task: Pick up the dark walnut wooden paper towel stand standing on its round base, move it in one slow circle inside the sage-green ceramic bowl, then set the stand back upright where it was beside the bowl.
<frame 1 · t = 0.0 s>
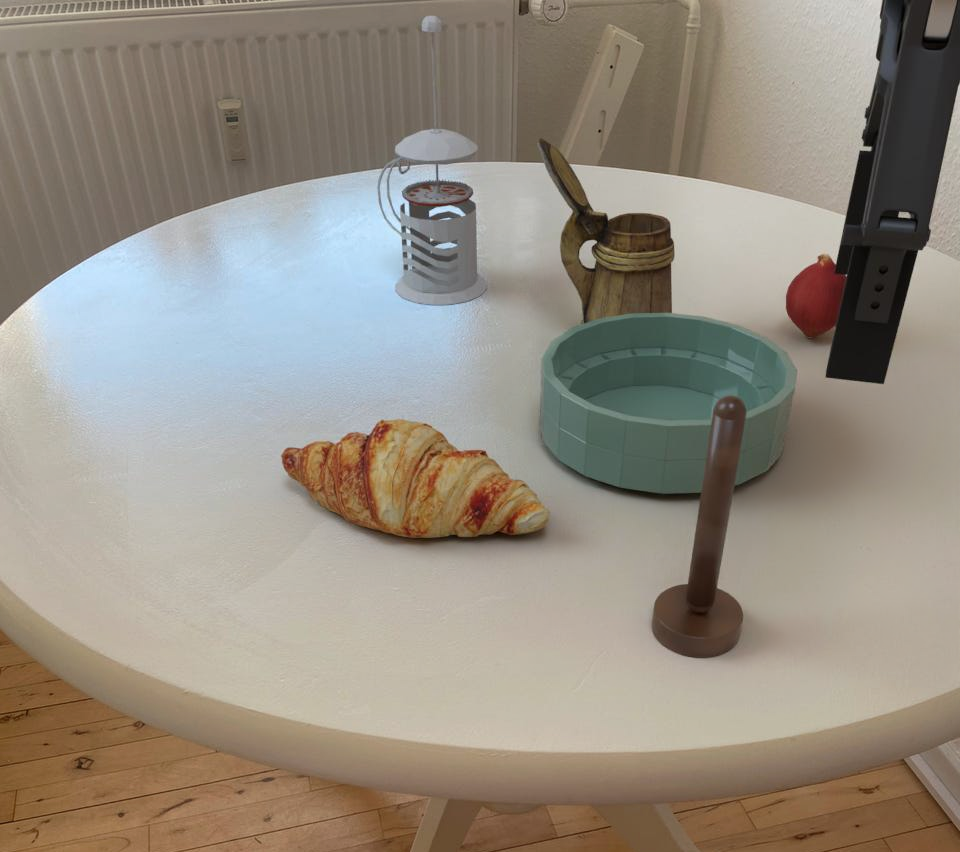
hand: (856, 321, 56), 20 cm above the table, tool pointing down, fingers open, 13 cm apart
wooden paper towel stand: (695, 629, 68), on the table
wooden mug: (603, 342, 101), on the table
onion: (810, 338, 102), on the table
croissant: (412, 515, 79), on the table
bowl: (659, 437, 87), on the table
french press: (433, 286, 112), on the table
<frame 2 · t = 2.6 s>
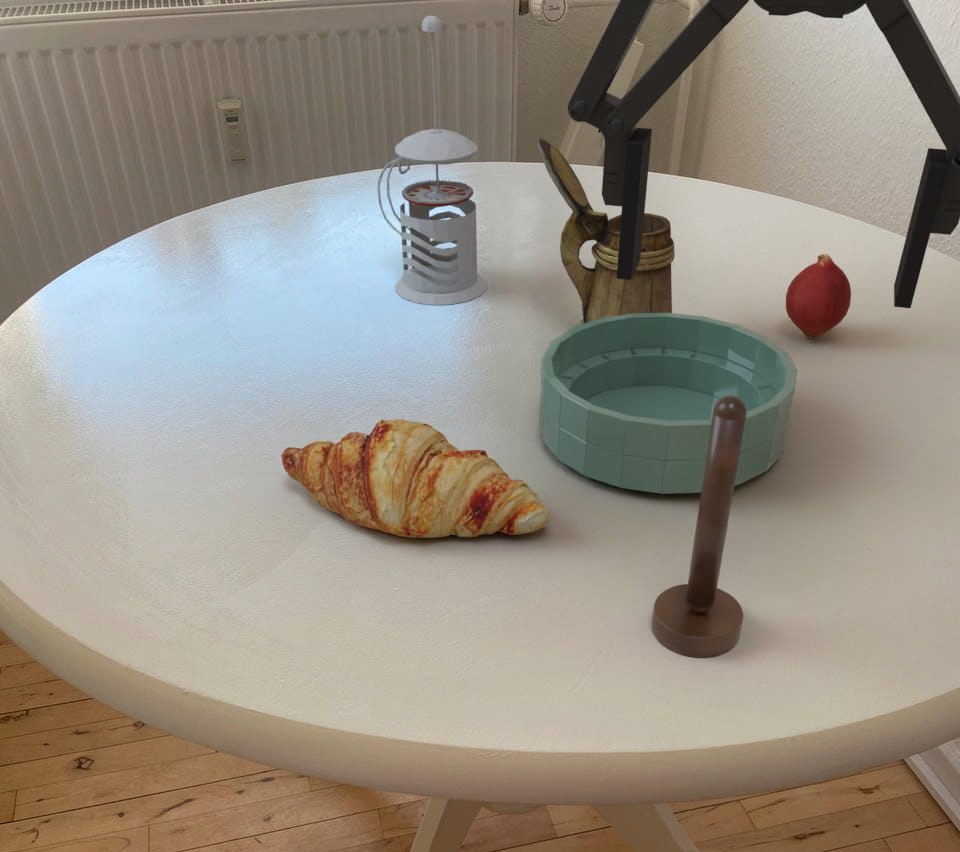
hand: (761, 283, 54), 23 cm above the table, tool pointing down, fingers open, 13 cm apart
nothing on the table moved.
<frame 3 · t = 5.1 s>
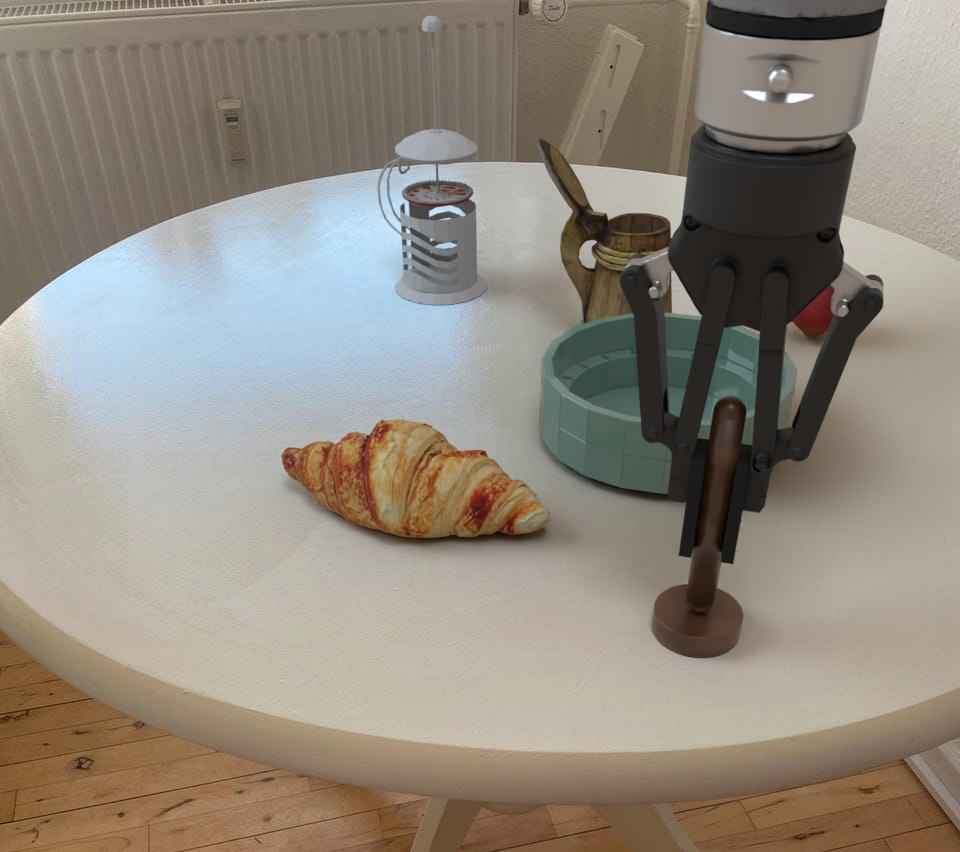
hand: (708, 546, 64), 6 cm above the table, tool pointing down, fingers closed on wooden paper towel stand, 2 cm apart
wooden paper towel stand: (695, 629, 68), on the table, touching gripper
everything else where it was.
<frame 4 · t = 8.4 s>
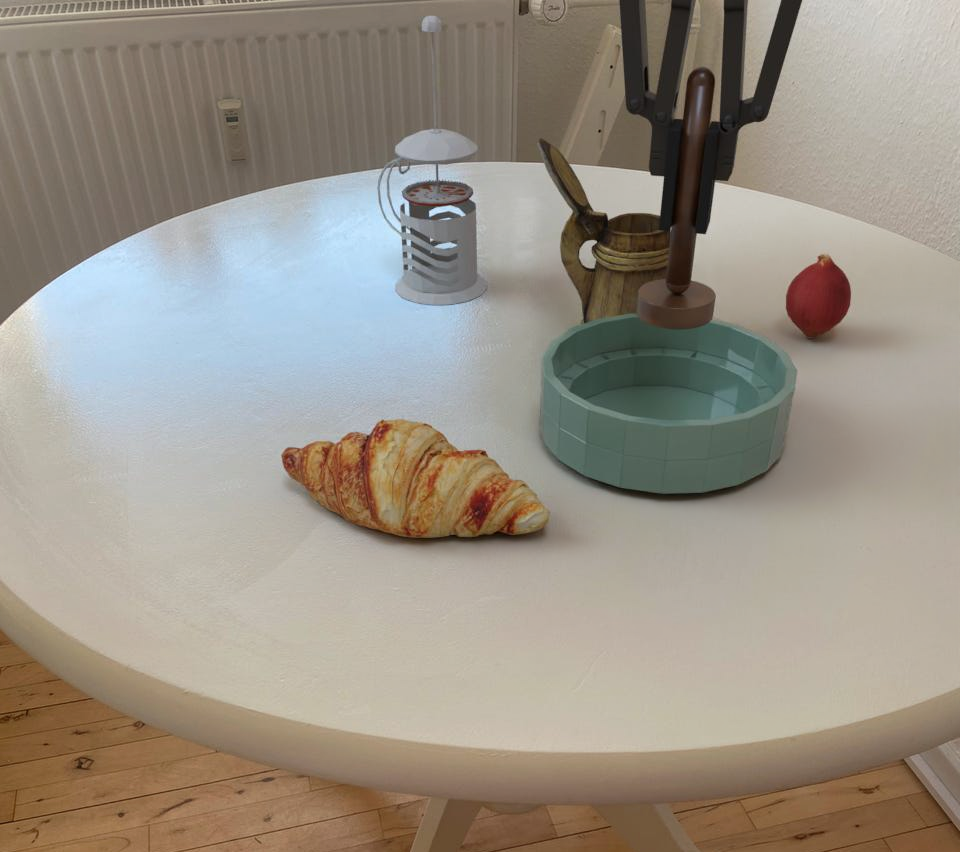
hand: (684, 225, 74), 18 cm above the table, tool pointing down, fingers closed on wooden paper towel stand, 2 cm apart
wooden paper towel stand: (674, 314, 78), point 11 cm above the table, touching gripper
everything else where it was.
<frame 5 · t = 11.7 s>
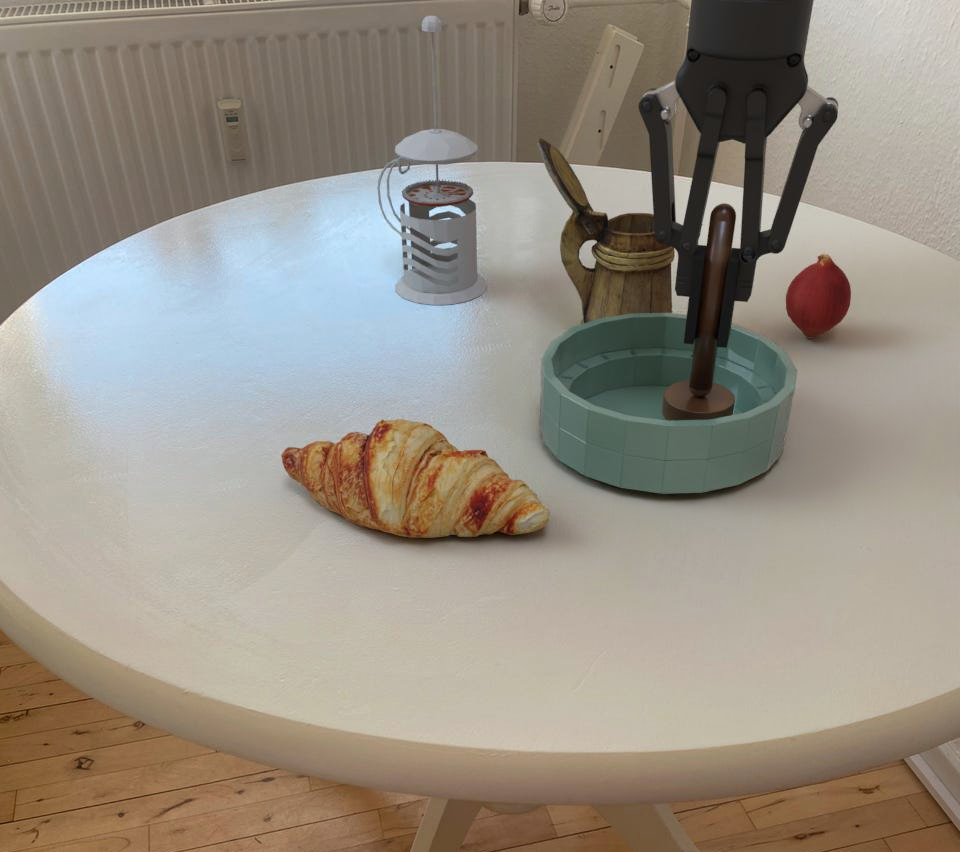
hand: (707, 337, 81), 9 cm above the table, tool pointing down, fingers closed on wooden paper towel stand, 2 cm apart
wooden paper towel stand: (696, 413, 85), point 2 cm above the table, touching gripper
everything else where it was.
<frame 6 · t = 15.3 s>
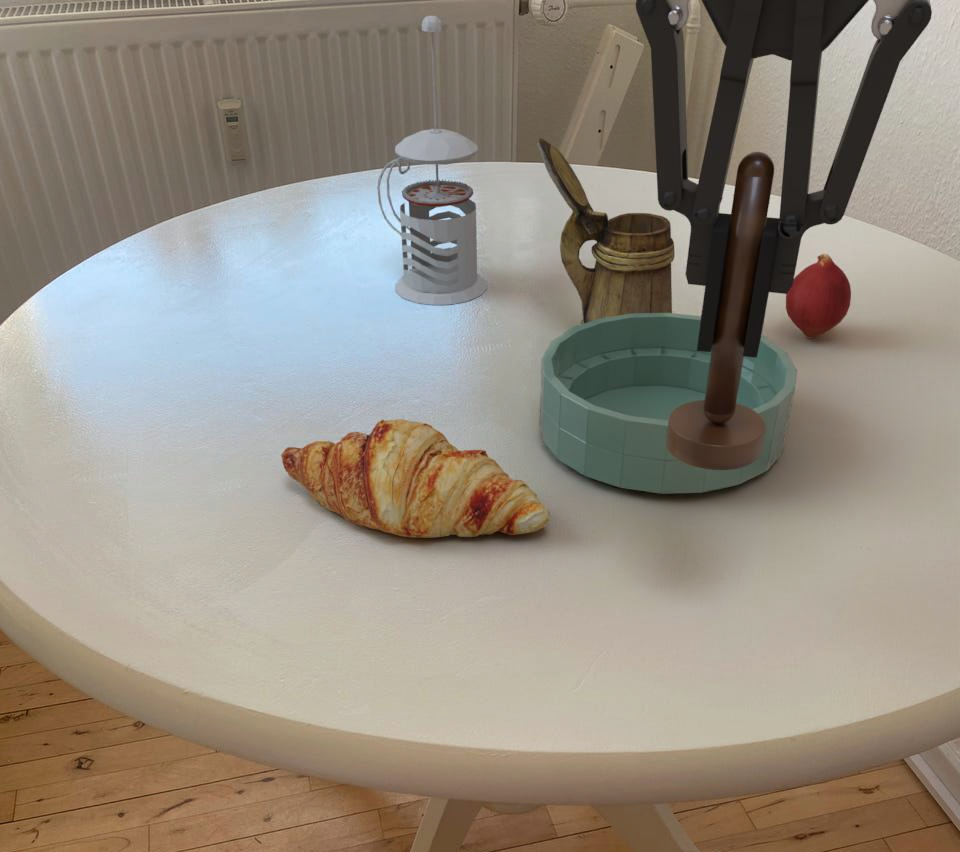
hand: (729, 343, 59), 18 cm above the table, tool pointing down, fingers closed on wooden paper towel stand, 2 cm apart
wooden paper towel stand: (713, 446, 63), point 12 cm above the table, touching gripper
everything else where it was.
when the fingers open (6 cm above the table, at t = 18.2 s): wooden paper towel stand stays where it is, on the table.
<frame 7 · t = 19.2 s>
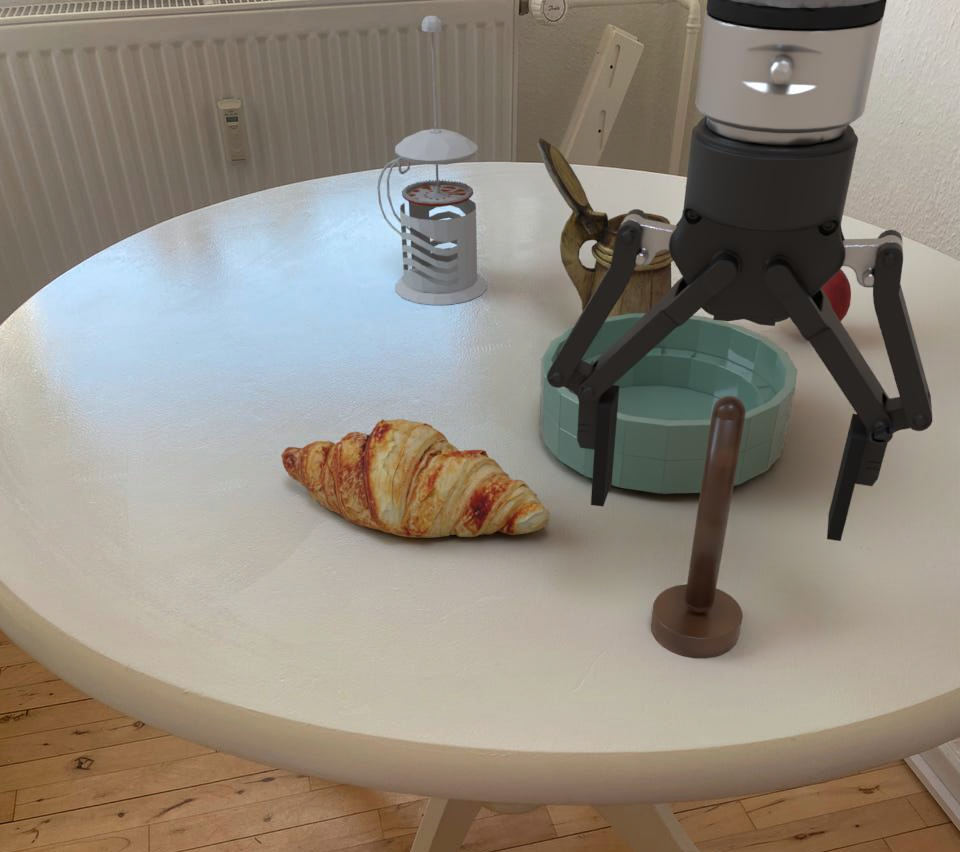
hand: (715, 510, 62), 9 cm above the table, tool pointing down, fingers open, 13 cm apart
wooden paper towel stand: (694, 629, 68), on the table
everything else where it was.
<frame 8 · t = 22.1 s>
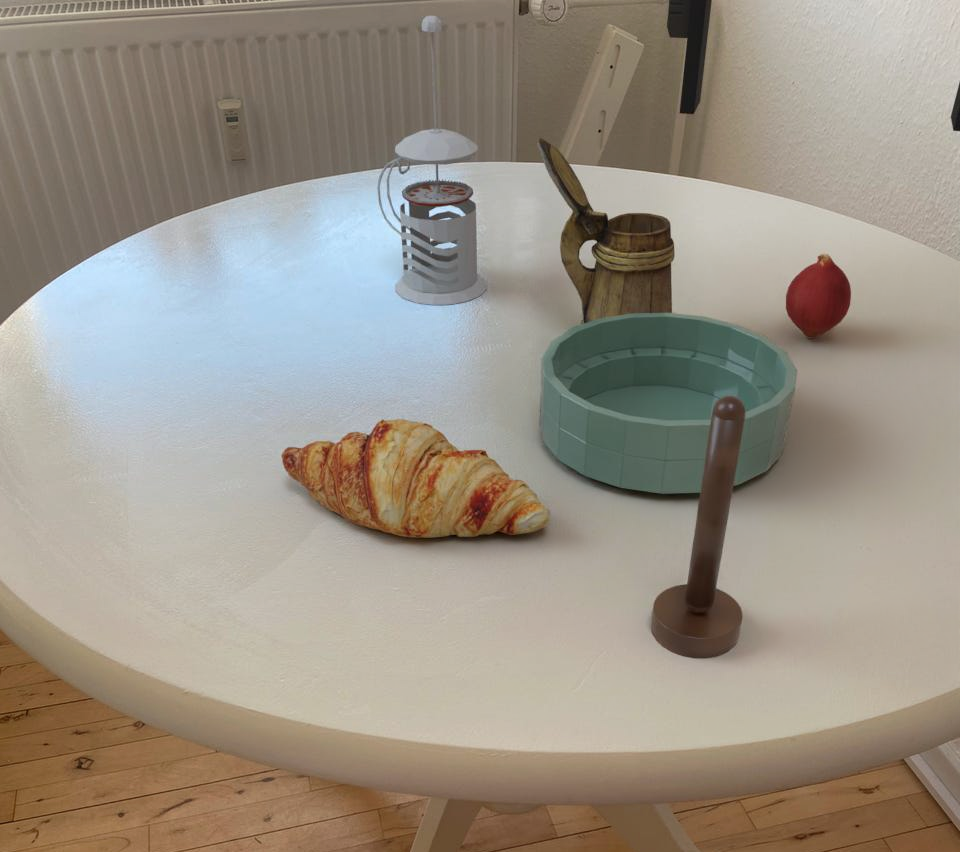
hand: (821, 116, 55), 29 cm above the table, tool pointing down, fingers open, 13 cm apart
nothing on the table moved.
at the end: wooden paper towel stand inside the target area on the table beside the bowl (0.0 cm from its centre), on the table; wooden paper towel stand tilted 0°; the gripper is holding nothing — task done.
